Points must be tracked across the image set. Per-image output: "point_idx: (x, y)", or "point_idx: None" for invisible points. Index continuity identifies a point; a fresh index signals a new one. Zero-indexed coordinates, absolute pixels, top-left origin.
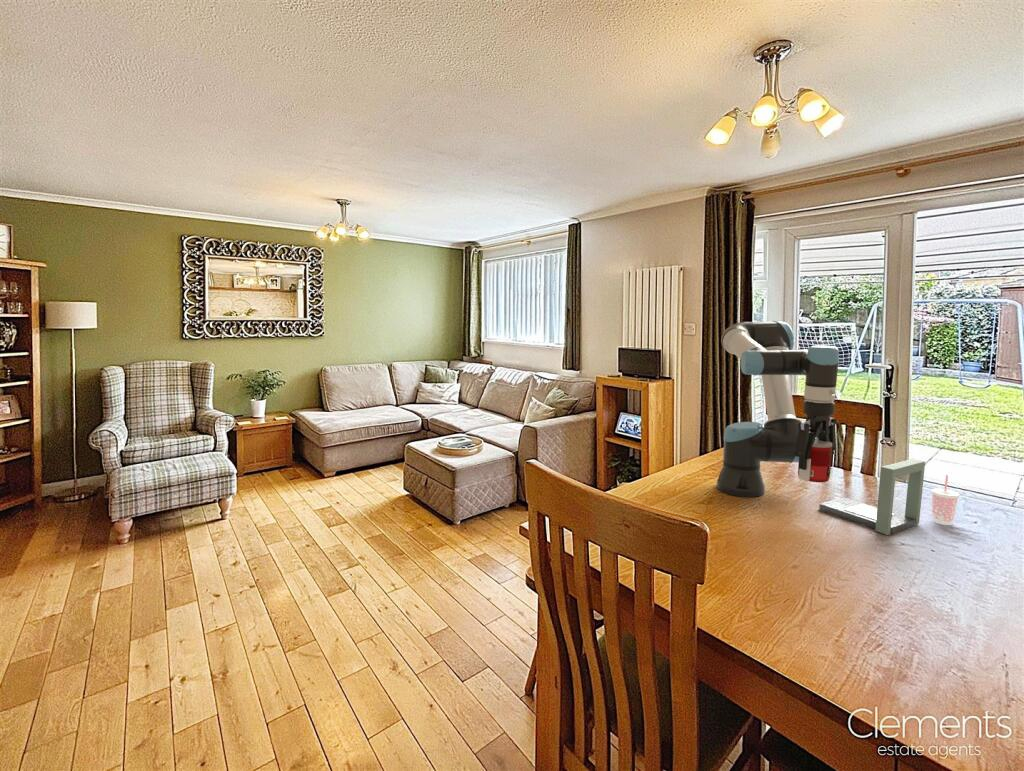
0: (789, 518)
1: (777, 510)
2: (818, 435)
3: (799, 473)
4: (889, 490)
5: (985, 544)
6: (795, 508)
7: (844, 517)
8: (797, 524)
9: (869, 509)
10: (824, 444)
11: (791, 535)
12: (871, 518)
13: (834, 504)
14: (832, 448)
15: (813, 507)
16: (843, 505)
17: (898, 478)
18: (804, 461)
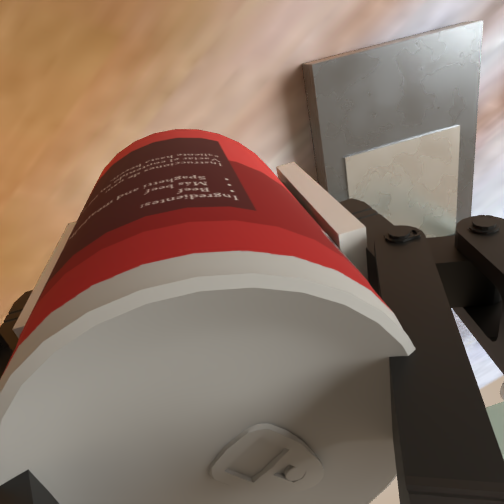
0: (100, 114)
1: (102, 5)
2: (402, 446)
3: (61, 243)
4: None
5: (470, 360)
6: (213, 10)
7: (318, 170)
8: (94, 178)
9: (426, 180)
10: (280, 490)
11: (4, 259)
12: None
13: (363, 92)
14: (460, 310)
15: (304, 26)
16: (386, 113)
17: (500, 390)
18: None
